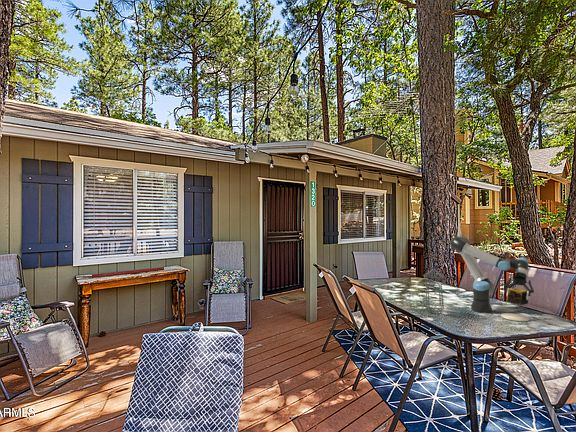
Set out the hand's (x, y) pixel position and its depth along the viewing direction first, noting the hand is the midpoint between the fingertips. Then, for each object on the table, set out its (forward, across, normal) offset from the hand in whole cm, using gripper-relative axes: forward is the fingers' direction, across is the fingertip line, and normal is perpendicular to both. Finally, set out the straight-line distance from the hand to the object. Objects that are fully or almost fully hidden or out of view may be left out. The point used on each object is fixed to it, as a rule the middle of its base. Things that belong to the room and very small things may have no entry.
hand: (516, 297), depth 247 cm
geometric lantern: (+29, +52, +4) cm, 60 cm away
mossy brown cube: (+1, 0, -5) cm, 5 cm away
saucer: (+10, +1, -13) cm, 16 cm away
